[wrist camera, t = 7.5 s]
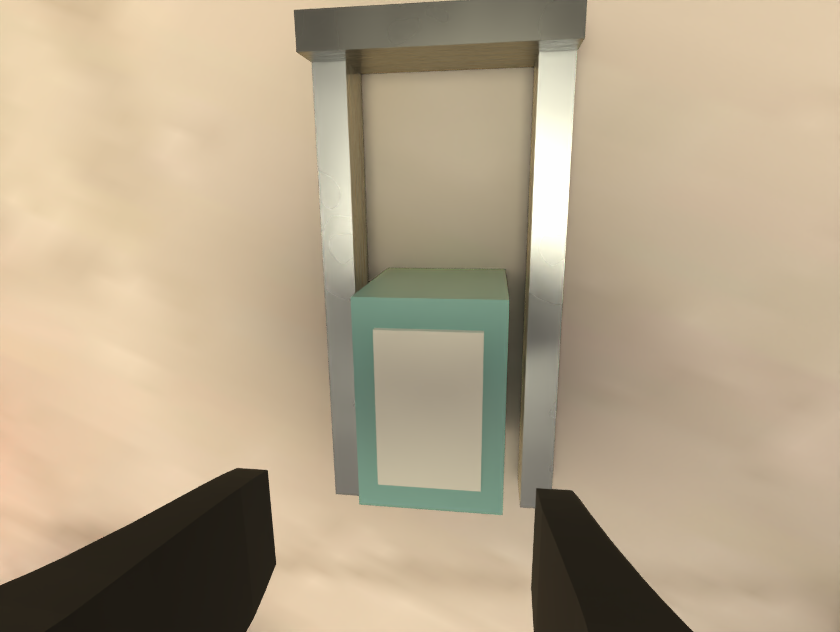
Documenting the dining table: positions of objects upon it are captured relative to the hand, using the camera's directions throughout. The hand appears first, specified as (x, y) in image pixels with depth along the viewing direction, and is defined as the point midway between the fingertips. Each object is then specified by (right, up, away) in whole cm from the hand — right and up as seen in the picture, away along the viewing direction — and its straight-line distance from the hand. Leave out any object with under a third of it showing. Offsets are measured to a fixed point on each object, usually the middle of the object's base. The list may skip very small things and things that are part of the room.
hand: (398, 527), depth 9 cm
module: (+1, +3, +9) cm, 10 cm away
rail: (+1, +5, +8) cm, 10 cm away
